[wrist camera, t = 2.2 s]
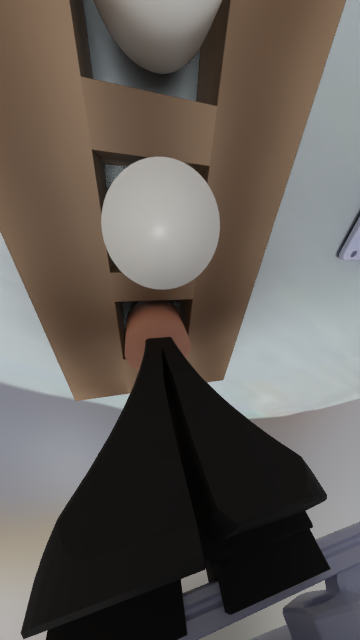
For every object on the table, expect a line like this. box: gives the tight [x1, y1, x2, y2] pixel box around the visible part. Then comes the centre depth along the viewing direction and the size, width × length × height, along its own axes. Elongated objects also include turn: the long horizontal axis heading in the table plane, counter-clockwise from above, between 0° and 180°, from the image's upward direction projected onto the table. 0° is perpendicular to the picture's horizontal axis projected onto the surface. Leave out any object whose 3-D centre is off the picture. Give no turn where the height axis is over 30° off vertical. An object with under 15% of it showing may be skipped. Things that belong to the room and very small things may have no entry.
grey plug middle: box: [101, 157, 220, 290], centre depth 7 cm, size 4×4×3 cm
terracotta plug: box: [125, 300, 191, 371], centre depth 11 cm, size 4×4×3 cm
